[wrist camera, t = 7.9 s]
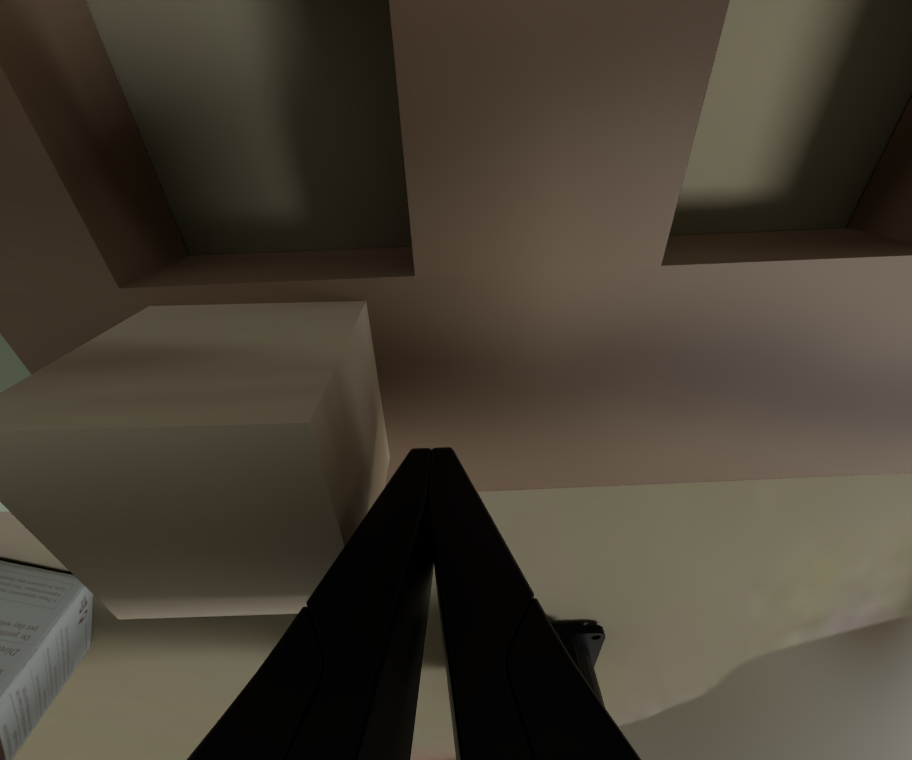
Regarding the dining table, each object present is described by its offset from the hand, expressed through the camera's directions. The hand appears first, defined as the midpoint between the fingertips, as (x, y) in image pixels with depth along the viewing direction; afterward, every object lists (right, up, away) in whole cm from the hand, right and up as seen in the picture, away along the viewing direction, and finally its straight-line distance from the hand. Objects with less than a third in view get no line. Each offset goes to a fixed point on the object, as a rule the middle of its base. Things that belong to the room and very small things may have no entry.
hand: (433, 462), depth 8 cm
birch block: (-4, +1, +1) cm, 4 cm away
